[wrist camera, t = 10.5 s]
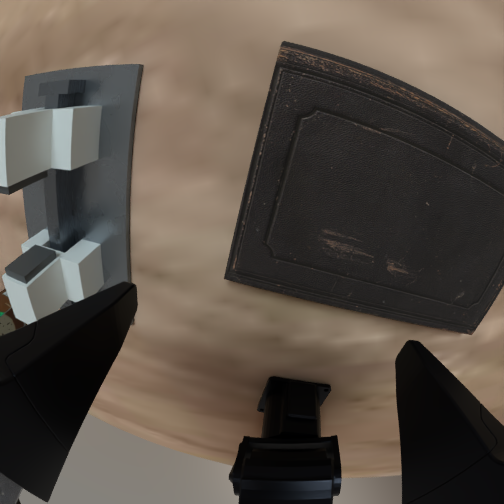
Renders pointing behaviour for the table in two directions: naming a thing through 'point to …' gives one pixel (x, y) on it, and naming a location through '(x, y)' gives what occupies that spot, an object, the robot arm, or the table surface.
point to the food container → (8, 315)
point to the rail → (89, 166)
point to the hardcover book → (371, 197)
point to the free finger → (51, 276)
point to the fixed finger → (46, 143)
